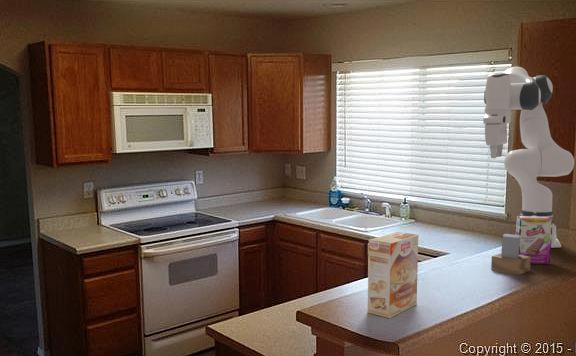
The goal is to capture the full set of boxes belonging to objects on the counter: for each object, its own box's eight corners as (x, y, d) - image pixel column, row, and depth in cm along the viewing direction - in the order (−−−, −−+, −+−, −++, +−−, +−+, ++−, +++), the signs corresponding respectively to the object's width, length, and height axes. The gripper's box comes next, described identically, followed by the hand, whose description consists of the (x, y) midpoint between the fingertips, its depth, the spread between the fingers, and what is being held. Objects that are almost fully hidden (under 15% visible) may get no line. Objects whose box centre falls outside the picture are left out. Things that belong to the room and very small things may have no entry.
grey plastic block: (503, 253, 193) (504, 233, 192) (518, 255, 190) (520, 235, 190) (501, 256, 188) (502, 236, 187) (517, 258, 186) (518, 237, 185)
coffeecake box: (390, 319, 142) (391, 243, 141) (366, 313, 147) (367, 239, 145) (418, 304, 154) (419, 234, 152) (395, 299, 158) (396, 231, 157)
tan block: (504, 266, 196) (505, 252, 195) (530, 271, 189) (530, 256, 189) (491, 270, 190) (491, 256, 190) (516, 276, 183) (517, 261, 183)
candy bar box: (518, 264, 198) (519, 217, 197) (514, 260, 203) (515, 215, 202) (551, 264, 197) (553, 218, 195) (546, 261, 202) (548, 216, 200)
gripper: (494, 118, 211) (492, 155, 212) (482, 118, 193) (481, 158, 194) (511, 118, 207) (510, 156, 209) (501, 118, 190) (500, 159, 191)
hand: (496, 157), depth 201 cm, fingers open, 8 cm apart
